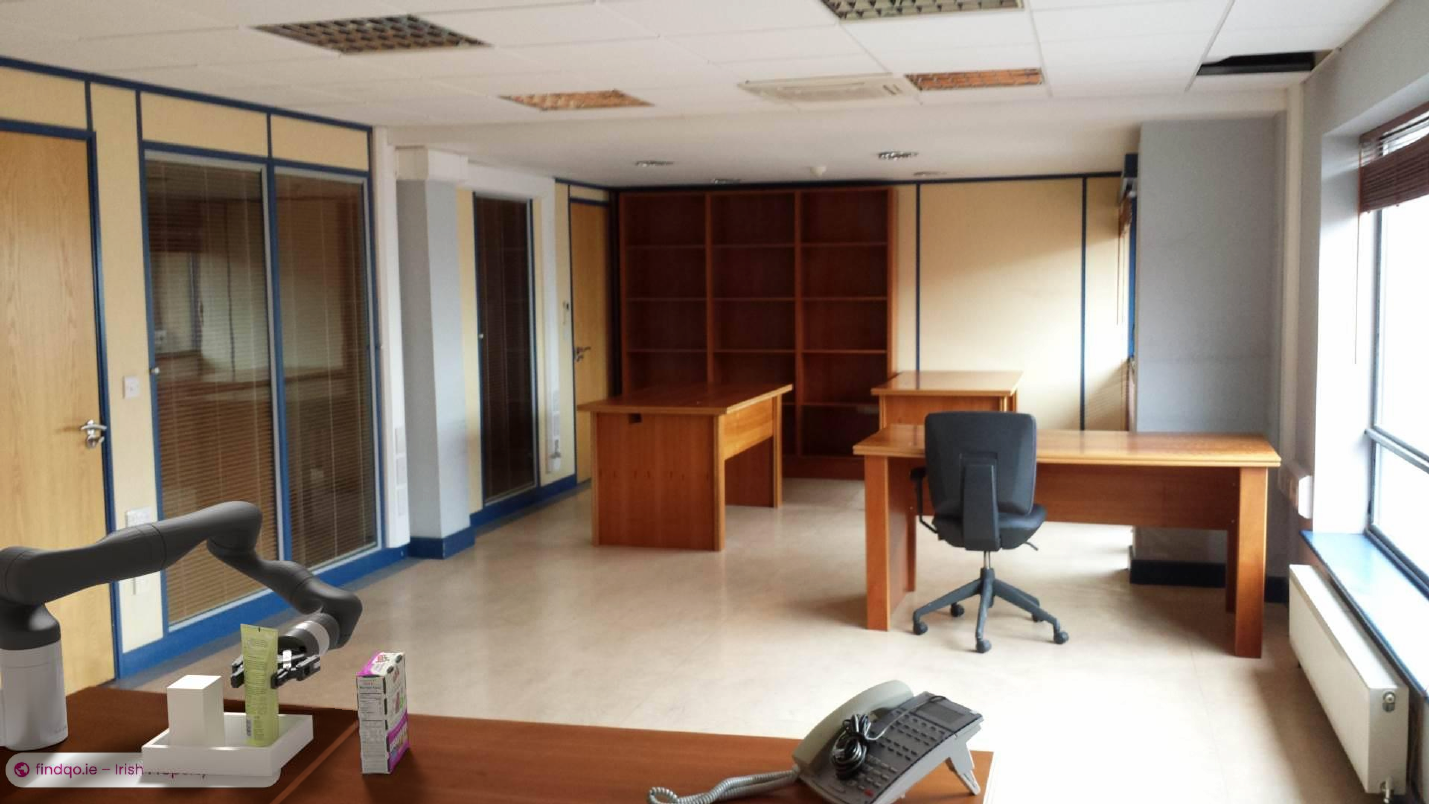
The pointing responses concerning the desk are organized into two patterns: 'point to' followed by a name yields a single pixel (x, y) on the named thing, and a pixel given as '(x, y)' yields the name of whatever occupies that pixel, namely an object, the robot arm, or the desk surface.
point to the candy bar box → (382, 712)
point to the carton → (196, 711)
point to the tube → (260, 684)
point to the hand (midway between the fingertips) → (253, 682)
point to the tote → (230, 750)
